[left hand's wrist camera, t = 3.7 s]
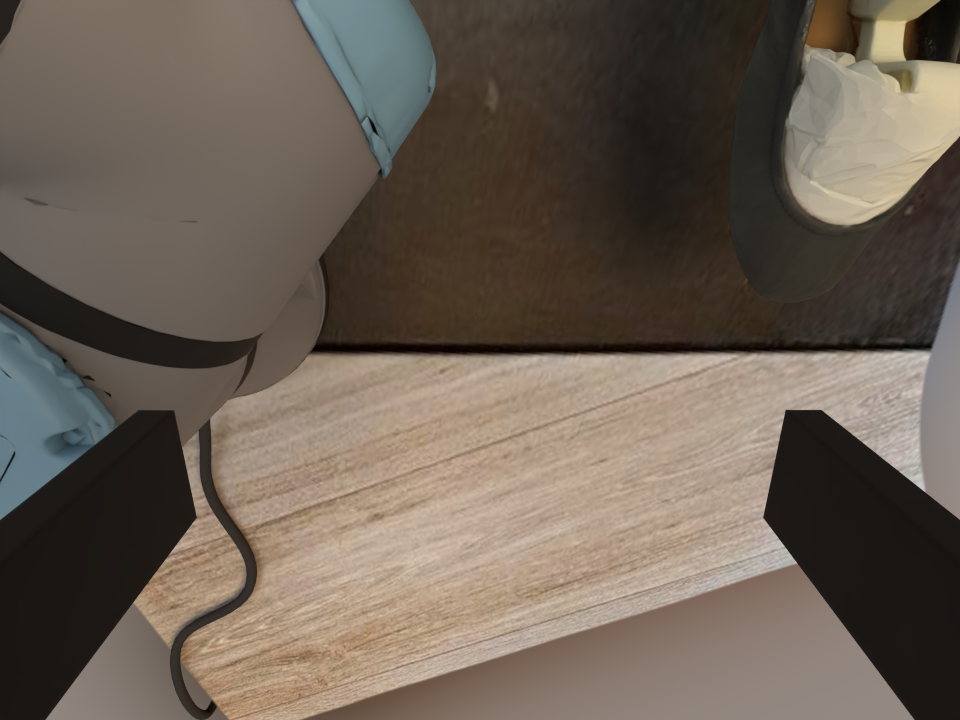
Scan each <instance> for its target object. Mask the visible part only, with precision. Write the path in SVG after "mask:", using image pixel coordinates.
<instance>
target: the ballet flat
mask: <svg viewBox="0 0 960 720" xmlns="http://www.w3.org/2000/svg"><path fill="white" fill-rule="evenodd" d="M959 47H960V0H772V2H771V5H770V8H769V12H768V17H767V20H766V23H765V26H764V27H763V29H762V31H761V33H760V36H759V38H758V40H757V43H756V46H755V49H754V52H753V55H752V57H751V60H750V63H749V66H748V68H747V71H746V74H745V79H744V83H743V85H742V88H741V92H740V96H739V101H738V106H737V110H736V116H735V122H734V128H733V138H732V147H731V156H730V164H729V184H728V215H729V222H730V228H731V233H732V238H733V243H734V247H735V250H736V253H737V257H738V260H739V263H740V265H741V268H742V270H743V272H744V274H745V276H746V277H747V279H748V282H749V283H750V284H751V286H752V287H753V288H754V289H755V290H756V291H757V292H758V293H759V294H760V295H761V296H763V297H765V298H767V299H770V300H773V301H776V302H783V303H790V302H801V301H805V300H808V299H812V298H815V297H817V296H820V295H822V294H824V293H825V292H827V291H829V290H830V289H831V288H833V287H834V286H835V285H836V284H837V283H838V282H839V281H840V280H841V279H842V278H843V277H844V276H845V275H846V273H847V272H848V271H849V270H850V268H851V267H852V266H853V264H854V263H855V261H856V260H857V258H858V257H859V255H860V254H861V253H862V251H863V250H864V249H865V247H866V246H867V245H868V244H869V242H870V241H871V240H872V239H873V238H874V236H875V235H876V234H877V233H878V231H879V230H880V229H881V228H882V227H883V226H884V225H885V223H886V222H887V221H888V220H889V219H890V218H891V216H893V215H894V214H895V213H896V212H898V211H899V210H900V209H901V208H902V207H903V206H904V205H905V204H906V203H907V202H908V201H909V199H910V198H911V197H912V196H913V194H914V193H915V191H916V190H917V188H918V186H919V185H920V183H921V181H922V179H923V177H924V175H925V173H926V171H927V169H928V168H929V167H930V166H931V165H932V164H933V163H935V162H936V161H937V160H938V159H939V158H940V157H941V155H942V154H943V153H944V152H945V151H946V150H947V149H948V148H949V147H950V146H951V145H952V144H953V143H954V142H955V141H956V140H957V139H958V137H959V136H960V64H955V63H956V59H957V55H958V52H959Z"/></svg>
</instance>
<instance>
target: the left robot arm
mask: <svg viewBox="0 0 960 720" xmlns="http://www.w3.org/2000/svg"><path fill="white" fill-rule="evenodd" d="M435 83H436V60H435V56H434V53H433V49H432V46H431V42H430V39H429V36H428V34H427V32H426V30H425V28H424V26H423V24H422V22H421V20H420V18H419V16H418V14H417V13H416V11H415V9H414V7H413V6H412V4H411V2H410V1H409V0H0V720H45V719H46V718H47V717H48V716H49V714H50V713H51V712H52V710H53V709H54V708H55V706H56V705H57V704H58V702H59V701H60V700H61V698H62V697H63V696H64V694H65V693H66V692H67V690H68V689H69V688H70V686H71V685H72V684H73V682H74V681H75V679H76V678H77V677H78V676H79V674H80V673H81V671H82V670H83V669H84V667H85V666H86V665H87V663H88V662H89V661H90V659H91V658H92V657H93V655H94V654H95V653H96V651H97V650H98V649H99V647H100V646H101V645H102V643H103V642H104V641H105V639H106V638H107V637H108V635H109V634H110V633H111V631H112V630H113V629H114V627H115V626H116V625H117V623H118V622H119V621H120V619H121V618H122V617H123V615H124V614H125V613H126V611H127V610H128V609H129V607H130V606H131V605H132V603H133V602H134V601H135V599H136V598H137V597H138V595H139V594H140V593H141V591H142V590H143V589H144V587H145V586H146V585H147V583H148V582H149V581H150V579H151V578H152V577H153V575H154V574H155V573H156V571H157V570H158V569H159V567H160V566H161V565H162V563H163V562H164V561H165V559H166V558H167V557H168V555H169V554H170V553H171V551H172V550H173V549H174V547H175V546H176V545H177V543H178V542H179V541H180V539H181V538H182V537H183V535H184V534H185V533H186V531H187V530H188V529H189V527H190V526H191V525H192V523H193V522H194V521H195V519H196V518H197V517H196V512H195V507H194V502H193V498H192V493H191V488H190V483H189V479H188V474H187V469H186V464H185V459H184V455H183V450H182V447H183V446H184V445H185V444H186V442H187V441H188V440H189V439H190V438H191V437H192V436H193V435H194V434H195V433H196V432H197V431H198V430H199V441H200V476H201V482H202V487H203V490H204V493H205V496H206V499H207V501H208V503H209V505H210V507H211V509H212V510H213V512H214V514H215V515H216V517H217V518H218V520H219V521H220V523H221V524H222V526H223V527H224V528H225V530H226V531H227V533H228V534H229V535H230V537H231V538H232V540H233V541H234V543H235V544H236V545H237V547H238V549H239V551H240V552H241V554H242V557H243V559H244V561H245V565H246V570H247V580H246V584H245V587H244V589H243V590H242V592H241V593H240V595H239V596H238V597H237V598H236V599H234V600H233V601H232V602H230V603H229V604H227V605H225V606H223V607H221V608H219V609H217V610H215V611H213V612H211V613H209V614H207V615H205V616H203V617H201V618H199V619H197V620H195V621H194V622H192V623H191V624H189V625H188V626H186V627H185V628H184V629H183V630H182V631H181V632H180V633H179V634H178V636H177V637H176V638H175V641H174V643H173V646H172V649H171V655H170V667H171V675H172V680H173V684H174V687H175V690H176V693H177V695H178V697H179V699H180V701H181V703H182V705H183V706H184V707H185V709H186V710H187V711H188V712H189V713H190V714H191V715H192V716H193V717H194V718H196V719H199V720H204V719H207V718H209V717H210V716H211V715H212V714H213V713H214V712H215V710H216V708H217V704H216V703H215V702H214V701H213V700H211V702H210V704H209V706H208V708H207V709H206V710H202V709H200V708H198V707H197V706H196V705H195V703H194V702H193V701H192V699H191V697H190V695H189V694H188V691H187V689H186V687H185V684H184V681H183V677H182V673H181V666H180V653H181V648H182V645H183V643H184V641H185V640H186V639H187V637H188V636H189V635H191V634H192V633H193V632H194V631H196V630H197V629H199V628H201V627H203V626H205V625H207V624H209V623H211V622H213V621H215V620H217V619H220V618H222V617H224V616H226V615H227V614H229V613H231V612H233V611H234V610H236V609H237V608H239V607H240V606H241V605H242V604H243V603H245V602H246V601H247V600H248V598H249V597H250V595H251V594H252V592H253V589H254V586H255V584H256V577H257V568H256V562H255V558H254V555H253V553H252V551H251V548H250V546H249V545H248V543H247V541H246V540H245V538H244V537H243V535H242V534H241V532H240V531H239V529H238V528H237V526H236V525H235V524H234V522H233V521H232V519H231V518H230V517H229V515H228V514H227V512H226V511H225V509H224V507H223V506H222V504H221V502H220V500H219V498H218V496H217V493H216V490H215V487H214V484H213V480H212V474H211V429H210V418H211V417H212V416H213V415H214V414H215V413H216V412H217V411H218V410H219V409H220V408H221V407H222V406H223V405H224V404H225V402H226V401H227V400H229V399H233V398H236V397H241V396H246V395H250V394H254V393H257V392H260V391H262V390H264V389H267V388H269V387H270V386H272V385H274V384H276V383H277V382H279V381H280V380H282V379H284V378H285V377H286V376H288V375H289V374H290V373H292V372H293V371H294V370H295V369H296V368H297V367H298V366H299V365H300V364H301V363H302V362H303V361H304V359H305V358H306V357H307V356H308V354H309V353H310V352H311V350H312V349H313V348H314V346H315V345H316V343H317V341H318V339H319V337H320V335H321V333H322V331H323V328H324V325H325V322H326V318H327V313H328V307H329V283H328V275H327V271H326V266H325V263H324V260H323V257H322V254H323V253H324V251H325V250H326V249H327V247H328V246H329V244H330V243H331V242H332V240H333V239H334V238H335V236H336V235H337V233H338V232H339V231H340V229H341V228H342V227H343V225H344V224H345V223H346V221H347V220H348V218H349V217H350V216H351V214H352V213H353V212H354V210H355V209H356V207H357V206H358V205H359V203H360V202H361V201H362V199H363V198H364V196H365V195H366V194H367V192H368V191H369V190H370V188H371V187H372V185H373V184H374V183H375V181H376V180H377V179H378V177H381V178H382V179H385V178H386V177H387V175H388V174H389V173H390V171H391V169H392V158H393V157H394V155H395V154H396V152H397V151H398V149H399V148H400V146H401V145H402V143H403V142H404V140H405V139H406V137H407V136H408V134H409V133H410V131H411V130H412V128H413V127H414V125H415V124H416V122H417V121H418V119H419V118H420V116H421V115H422V113H423V111H424V110H425V108H426V107H427V105H428V103H429V102H430V99H431V97H432V94H433V92H434V88H435ZM763 518H764V519H765V521H766V522H767V523H768V525H769V526H770V527H771V529H772V530H773V531H774V533H775V534H776V535H777V537H778V538H779V539H780V541H781V542H782V543H783V545H784V546H785V547H786V549H787V550H788V551H789V553H790V554H791V555H792V557H793V558H794V559H795V561H796V562H797V563H798V565H799V566H800V567H801V569H802V570H803V571H804V573H805V574H806V575H807V577H808V578H809V579H810V581H811V582H812V583H813V585H814V586H815V587H816V589H817V590H818V591H819V593H820V594H821V595H822V597H823V598H824V599H825V601H826V602H827V603H828V605H829V606H830V607H831V609H832V610H833V611H834V613H835V614H836V615H837V617H838V618H839V619H840V621H841V622H842V623H843V625H844V626H845V627H846V629H847V630H848V631H849V633H850V634H851V635H852V637H853V638H854V639H855V641H856V642H857V643H858V645H859V646H860V647H861V649H862V650H863V651H864V653H865V654H866V655H867V657H868V658H869V659H870V661H871V662H872V663H873V665H874V666H875V667H876V669H877V670H878V671H879V673H880V674H881V676H882V677H883V678H884V679H885V681H886V682H887V684H888V685H889V686H890V687H891V689H892V690H893V692H894V693H895V694H896V696H897V697H898V698H899V699H900V701H901V702H902V703H903V705H904V706H905V707H906V709H907V710H908V712H909V713H910V714H911V716H912V717H913V718H914V720H960V520H959V519H958V518H957V517H955V516H954V515H953V514H952V513H950V512H949V511H948V510H947V509H945V508H944V507H943V506H942V505H940V504H939V503H938V502H937V501H935V500H934V499H933V498H932V497H930V496H929V495H928V494H927V493H925V492H924V491H923V490H921V489H920V488H919V487H918V486H916V485H915V484H914V483H913V482H911V481H910V480H909V479H908V478H906V477H905V476H904V475H903V474H901V473H900V472H899V471H898V470H896V469H895V468H894V467H892V466H891V465H890V464H889V463H887V462H886V461H885V460H884V459H882V458H881V457H880V456H879V455H877V454H876V453H875V452H874V451H872V450H871V449H870V448H869V447H867V446H866V445H865V444H863V443H862V442H861V441H860V440H858V439H857V438H856V437H855V436H853V435H852V434H851V433H850V432H848V431H847V430H846V429H845V428H843V427H842V426H841V425H840V424H838V423H837V422H836V421H835V420H833V419H832V418H831V417H829V416H828V415H827V414H826V413H824V412H823V411H822V410H786V411H785V416H784V421H783V426H782V431H781V435H780V440H779V445H778V450H777V455H776V459H775V464H774V469H773V474H772V478H771V483H770V488H769V493H768V498H767V502H766V507H765V512H764V517H763Z"/></svg>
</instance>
